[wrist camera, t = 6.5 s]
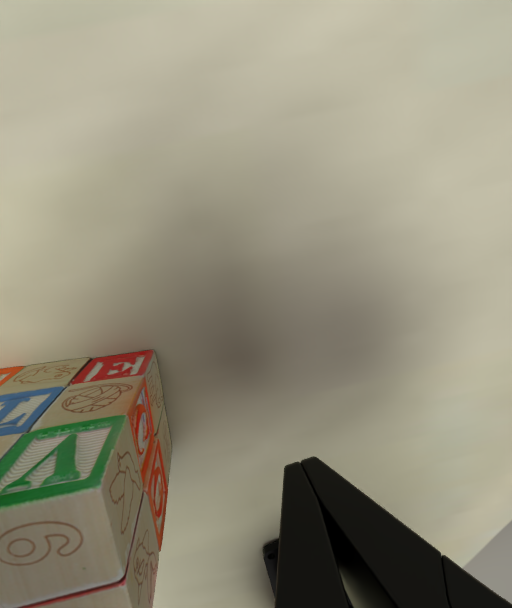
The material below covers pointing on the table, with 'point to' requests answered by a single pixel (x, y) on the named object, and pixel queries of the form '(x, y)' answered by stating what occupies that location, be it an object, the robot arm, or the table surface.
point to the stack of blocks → (82, 482)
